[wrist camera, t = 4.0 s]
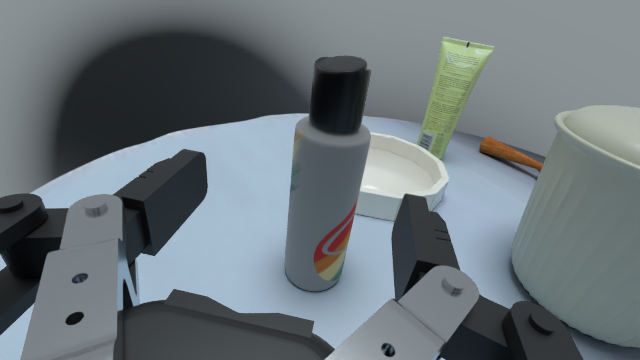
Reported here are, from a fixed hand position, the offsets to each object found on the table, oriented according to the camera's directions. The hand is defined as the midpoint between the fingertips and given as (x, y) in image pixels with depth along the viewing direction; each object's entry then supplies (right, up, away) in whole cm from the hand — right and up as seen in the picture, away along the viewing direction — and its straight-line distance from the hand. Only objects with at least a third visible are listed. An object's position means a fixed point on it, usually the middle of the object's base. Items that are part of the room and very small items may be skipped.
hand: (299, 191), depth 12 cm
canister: (+27, -11, +20) cm, 36 cm away
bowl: (+9, +1, +35) cm, 36 cm away
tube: (+21, +5, +44) cm, 49 cm away
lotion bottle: (0, -9, +18) cm, 20 cm away
